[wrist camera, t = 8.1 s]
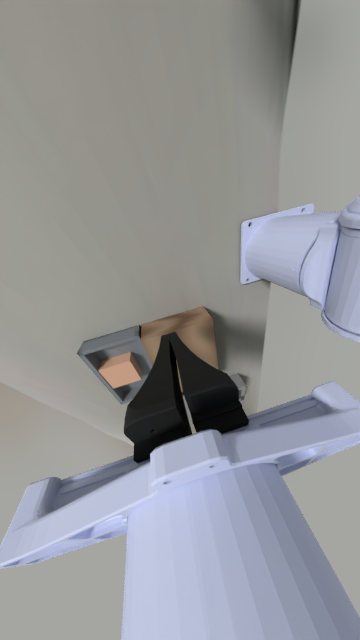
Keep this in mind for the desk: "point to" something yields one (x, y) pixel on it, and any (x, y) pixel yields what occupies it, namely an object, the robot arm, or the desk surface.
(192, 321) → the tan slab
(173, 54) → the desk surface
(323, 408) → the robot arm
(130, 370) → the tile
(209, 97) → the desk surface
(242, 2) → the desk surface
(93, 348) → the bin
